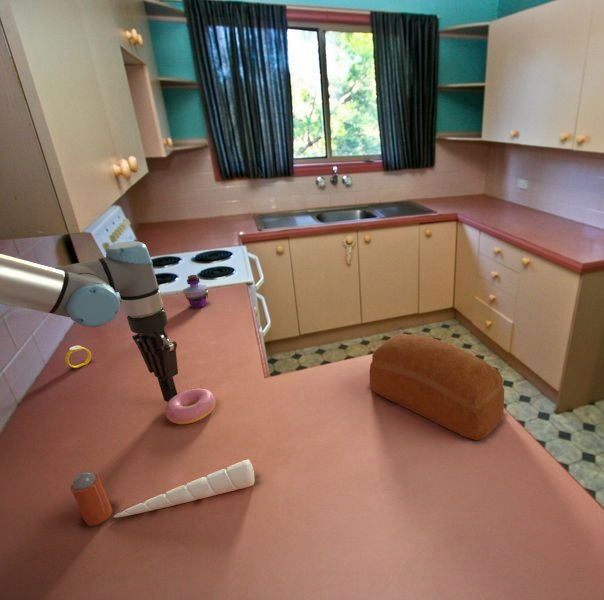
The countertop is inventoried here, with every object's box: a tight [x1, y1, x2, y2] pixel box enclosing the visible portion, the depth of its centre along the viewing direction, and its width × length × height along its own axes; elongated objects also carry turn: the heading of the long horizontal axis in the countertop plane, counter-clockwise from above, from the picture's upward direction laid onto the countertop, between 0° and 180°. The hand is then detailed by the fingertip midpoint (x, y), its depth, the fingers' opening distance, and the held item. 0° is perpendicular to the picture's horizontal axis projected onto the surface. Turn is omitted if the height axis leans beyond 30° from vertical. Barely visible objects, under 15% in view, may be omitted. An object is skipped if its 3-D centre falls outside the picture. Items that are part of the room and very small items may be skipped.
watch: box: [64, 344, 92, 369], centre depth 121 cm, size 6×3×6 cm, turn 151°
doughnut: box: [164, 387, 216, 425], centre depth 101 cm, size 11×11×4 cm
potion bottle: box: [182, 274, 209, 309], centre depth 158 cm, size 9×9×12 cm
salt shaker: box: [70, 471, 113, 527], centre depth 73 cm, size 4×4×10 cm
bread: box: [369, 333, 505, 441], centre depth 100 cm, size 14×33×16 cm, turn 50°
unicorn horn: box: [113, 459, 256, 518], centre depth 78 cm, size 5×24×5 cm, turn 106°
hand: (171, 398), depth 104 cm, fingers closed
